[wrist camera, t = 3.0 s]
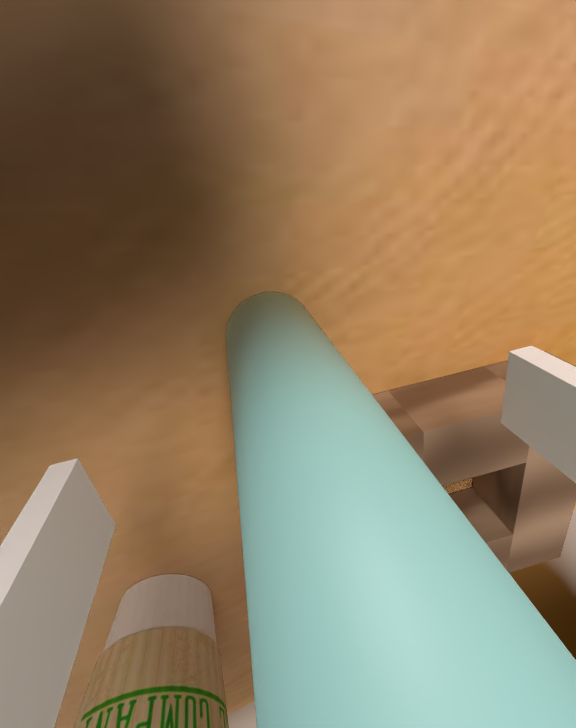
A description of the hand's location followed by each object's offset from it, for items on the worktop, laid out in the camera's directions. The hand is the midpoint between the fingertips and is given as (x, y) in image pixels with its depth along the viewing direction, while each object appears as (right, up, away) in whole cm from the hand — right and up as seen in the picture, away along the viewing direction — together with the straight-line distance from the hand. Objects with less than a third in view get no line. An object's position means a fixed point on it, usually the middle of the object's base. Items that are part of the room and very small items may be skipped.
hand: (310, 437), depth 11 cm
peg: (-2, +4, +7) cm, 8 cm away
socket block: (+9, -5, +13) cm, 17 cm away
